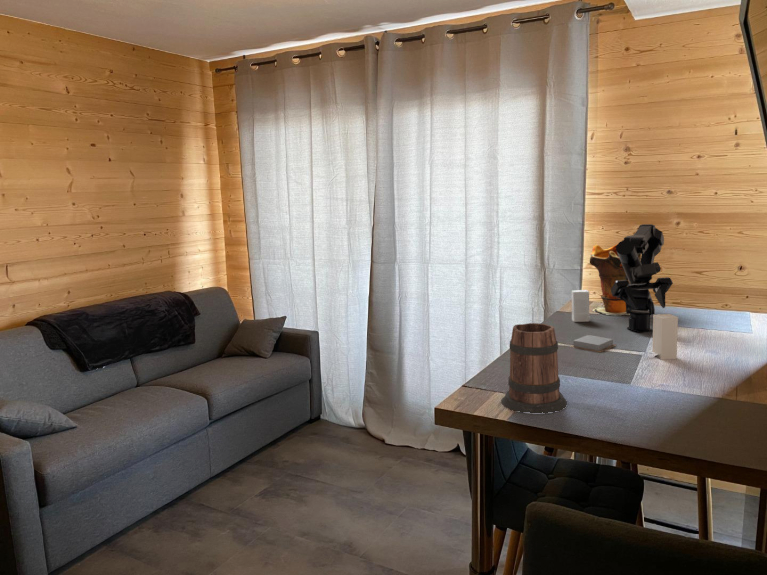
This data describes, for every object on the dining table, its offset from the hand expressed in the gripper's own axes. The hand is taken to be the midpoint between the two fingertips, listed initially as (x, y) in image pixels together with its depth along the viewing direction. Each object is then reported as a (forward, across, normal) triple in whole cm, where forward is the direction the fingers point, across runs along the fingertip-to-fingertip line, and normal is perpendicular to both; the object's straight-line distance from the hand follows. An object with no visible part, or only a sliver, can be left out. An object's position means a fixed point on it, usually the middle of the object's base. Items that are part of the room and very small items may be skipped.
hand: (650, 308), depth 194 cm
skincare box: (-21, -4, +41) cm, 46 cm away
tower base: (+6, -16, +14) cm, 23 cm away
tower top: (+5, -16, +13) cm, 21 cm away
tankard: (+33, -49, -13) cm, 61 cm away
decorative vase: (-30, +16, +49) cm, 60 cm away
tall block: (+16, 0, +4) cm, 16 cm away
